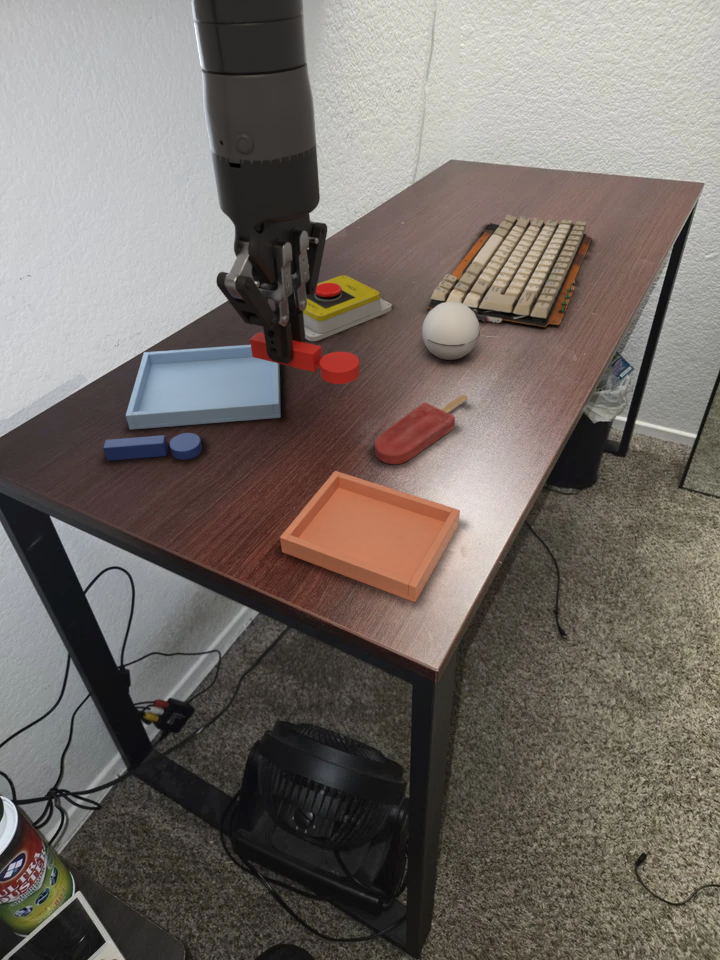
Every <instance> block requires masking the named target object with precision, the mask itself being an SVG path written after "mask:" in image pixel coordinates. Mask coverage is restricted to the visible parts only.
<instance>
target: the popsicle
mask: <svg viewBox="0 0 720 960" xmlns="http://www.w3.org/2000/svg"><path fill="white" fill-rule="evenodd" d="M468 397H469V396H468V395H466V394H460V395H459V396H458V397H456V398H455V399H453V400H452V401H451V402H449V403H448V404H447V405H444V407H443V408H441V409H440V408H438V407H436V406H434V405H432V404H431V403H427V402H422V403H421V404H419V405H418V406H417V407H415V408H414V409H413V410H412V411H410V412H409V413H408V414H406V415H405V416H404V417H402V418H401V419H400V420H398V421H397V422H395V423H394V424H392V426H390V427H388V428H387V429H386V430H385V431H384V432H382V433H381V434H380V435H379V436H377V438H376V439H375V440H374V441H375V442H374V455H375V457H376V458H377V460H379V461H380V462H382V463H384V464H388V465H401V464H404V463H407V462H408V461H410V460H411V459H413V458H414V457H416V456H418V455H419V454H420V453H421V452H423V451H425V450H426V449H427V448H428V447H430V446H431V445H433V444H434V443H436V442H437V441H439V440H440V439H441V438H443V437H444V436H446V435H447V434H448V433H450V432H451V431H453V430H454V429H455V424H456V423H455V422H456V417H455V416H454V415H453V414H451V412H452V411H454V410H455V409H457V407H459V406H460V405H462V404H463V403H464V402H466V401H467V400H468Z"/></svg>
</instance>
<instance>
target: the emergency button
mask: <svg viewBox="0 0 720 960" xmlns="http://www.w3.org/2000/svg"><path fill="white" fill-rule="evenodd" d="M392 304H393V303H390V302H389V301H387V300H385V299H383V298H381V294H380V291H378V290H376V289H374V288H373V287H370V286H368V285H366V284H364V283H362V282H361V281H358V280H356V279H354V278H352V277H351V276H348V275H345V274H343V275H338V276H336V277H332V278H330V279H326V280H325V281H322V282H318V283H317V289H316V292H315V294H314V295H308V296H307V306H306V309H305V310H304V311H303V316H304V327H305V328H304V329H305V340H307V341H309V342H318V341H321V340H323V339H326V338H328V337H331V336H333V335H335V334H339V333H340V332H343V331H346V330H347V329H350V328H353V327H355V326H358V325H360V324H362V323H366V322H368V321H370V320H372V319H375V318H377V317H380V316H382V315H385V314H388V313H390V312H391V311H392V310H393V305H392Z"/></svg>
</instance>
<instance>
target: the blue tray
mask: <svg viewBox="0 0 720 960" xmlns="http://www.w3.org/2000/svg"><path fill="white" fill-rule="evenodd" d="M280 367H281V364H279V363H275V362H271V361H267V360H263V359H259V358H255V357H252V350H251V344H242V345H228V346H227V345H226V346H225V345H224V346H213V347H212V346H211V347H200V348H199V347H197V348H185V349H171V350H158V351H157V350H156V351H144V352H143V354H142V357H141V361H140V365H139V368H138V372H137V375H136V378H135V382H134V385H133V389H132V392H131V396H130V399H129V402H128V406H127V409H126V413H125V418H126V419H125V420H126V422H127V426H128V428H129V430H130V431H131V430H132V431H133V430H144V429H157V428H168V427H180V426H181V427H182V426H193V425H206V424H218V423H233V422H244V421H256V420H257V421H258V420H269V419H280V418H281V417H282V414H281V368H280Z"/></svg>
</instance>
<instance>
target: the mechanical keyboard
mask: <svg viewBox="0 0 720 960" xmlns="http://www.w3.org/2000/svg"><path fill="white" fill-rule="evenodd" d="M586 230H587V221H582V220H577V221H575V223H573V220H572V219H562V220H561V221H560V223H559V221H558V220H557V219H550V218H549V219H548V220H547V221H546V222H545V220H544V219H541V218H538V217H537V218H536V217H535V218H533V220H532V221H531V218H530V217H527V216H523V215H521V216H519V218H518V217H516V216H514V215H512V214H510V213H509V214H506V215H505V217H504V218H503V220H502V221H501V222H500V224H495V223H493V222H490V223H489V224H487V225H486V226H485V229H484V231H481V233H480V236H479V237H478V238H477V240H476V242H475V243H474V244H473V246H472V247H471V248H470V249H469V250H468V252H467V254H466V255H465V256H464V258H463V259H462V260H461V261H460V262H459V263H458V265H457V267H456V268H455V269H454V270H453V272H452V273H451V274H450V273H447V274H446V273H445V275H444V276H443V279H442V280H441V281H440V282H439V283H438V285H437V287H435V288H434V289H433V292H432V294H431V297H430V298H429V300H431V301H430V303H429V304H428V305H427V306H426V309H428V310H432V309H433V308H435V307H436V306H437V305H439V304H441V303H445V302H459V303H462V304H464V305H466V306H468V307H469V308H470V309H471V310H472V311H473V312H474V313H475V315H476V317H477V319H478V321H482V322H483V323H486V322H492V324H500V323H502V321H506V322H512V323H517V324H521V325H523V324H524V325H529V326H535V327H542V328H547V327H548V325H553V326H559V325H561V322H562V320H563V318H564V316H565V313H566V311H567V308H568V306H569V303H570V300H571V298H572V296H573V294H574V291H575V288H576V286H575V284H576V277H577V275H578V273H579V271H580V269H581V266H582V263H583V262H584V259H585V258H586V256H587V253H588V250H589V249H590V245H591V244H592V241H593V238H592V237H590V236H587V234H586Z"/></svg>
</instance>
